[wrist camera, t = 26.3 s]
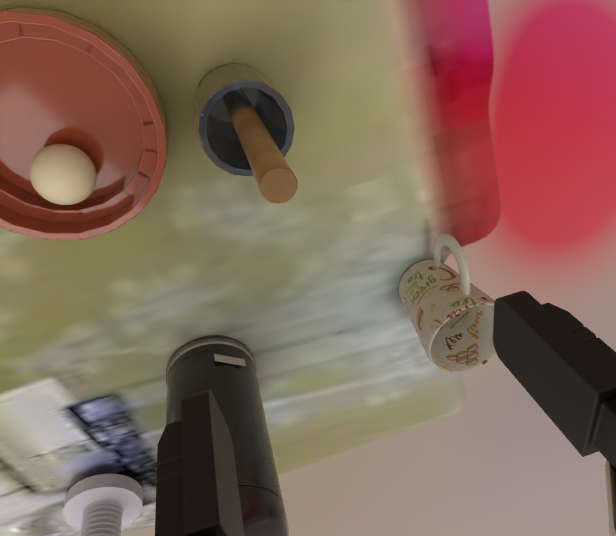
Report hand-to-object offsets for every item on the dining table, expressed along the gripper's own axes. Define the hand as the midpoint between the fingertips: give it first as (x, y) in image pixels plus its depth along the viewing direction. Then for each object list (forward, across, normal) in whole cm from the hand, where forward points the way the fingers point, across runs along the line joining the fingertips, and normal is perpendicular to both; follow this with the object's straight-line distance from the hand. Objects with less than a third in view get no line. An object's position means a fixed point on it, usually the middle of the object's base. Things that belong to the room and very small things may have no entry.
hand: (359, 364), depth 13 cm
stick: (+30, 0, -1) cm, 30 cm away
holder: (+30, 0, 0) cm, 30 cm away
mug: (+30, -15, +21) cm, 40 cm away
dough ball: (+28, +12, 0) cm, 30 cm away
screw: (+30, +27, +39) cm, 56 cm away
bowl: (+30, +13, -2) cm, 33 cm away
